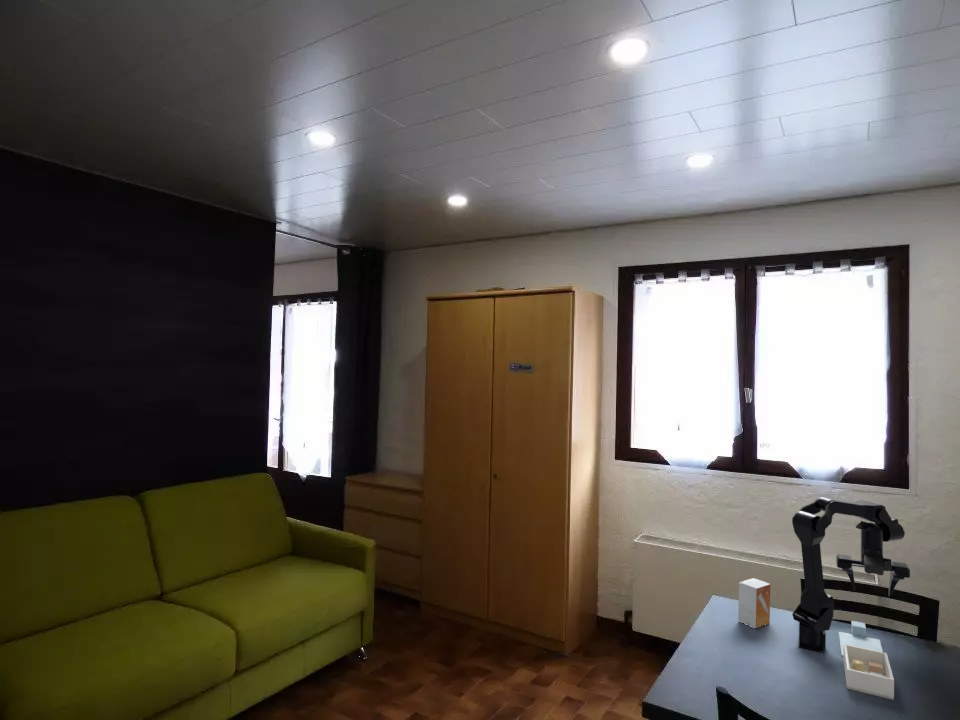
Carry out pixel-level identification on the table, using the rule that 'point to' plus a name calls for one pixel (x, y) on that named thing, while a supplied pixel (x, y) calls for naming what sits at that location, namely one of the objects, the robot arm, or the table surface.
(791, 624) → the table surface
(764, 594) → the small box
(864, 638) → the lid
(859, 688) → the tub
